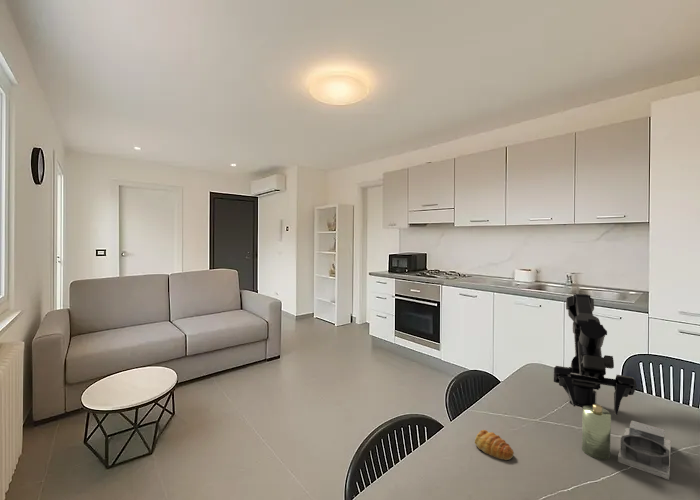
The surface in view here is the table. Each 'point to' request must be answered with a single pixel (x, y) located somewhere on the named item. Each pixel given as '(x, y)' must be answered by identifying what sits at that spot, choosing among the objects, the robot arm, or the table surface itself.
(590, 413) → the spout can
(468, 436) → the table surface
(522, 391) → the table surface
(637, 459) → the grey piece
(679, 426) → the table surface
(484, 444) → the pastry
